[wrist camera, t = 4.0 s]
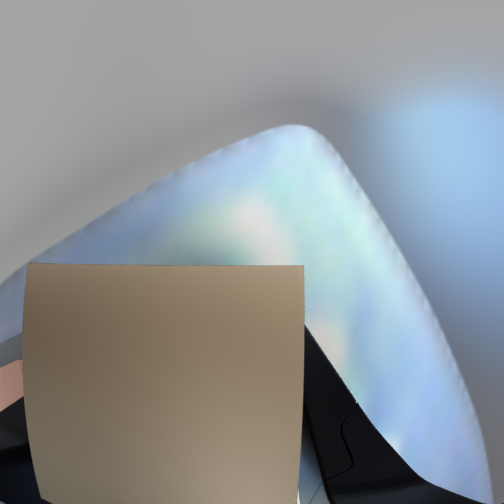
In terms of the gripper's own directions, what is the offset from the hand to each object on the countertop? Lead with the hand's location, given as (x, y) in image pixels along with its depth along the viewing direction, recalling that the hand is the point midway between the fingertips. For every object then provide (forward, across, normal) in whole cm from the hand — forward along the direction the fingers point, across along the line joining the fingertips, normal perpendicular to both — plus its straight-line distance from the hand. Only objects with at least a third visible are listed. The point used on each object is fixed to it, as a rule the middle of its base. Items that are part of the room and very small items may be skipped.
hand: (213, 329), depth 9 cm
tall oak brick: (+4, 0, +6) cm, 7 cm away
